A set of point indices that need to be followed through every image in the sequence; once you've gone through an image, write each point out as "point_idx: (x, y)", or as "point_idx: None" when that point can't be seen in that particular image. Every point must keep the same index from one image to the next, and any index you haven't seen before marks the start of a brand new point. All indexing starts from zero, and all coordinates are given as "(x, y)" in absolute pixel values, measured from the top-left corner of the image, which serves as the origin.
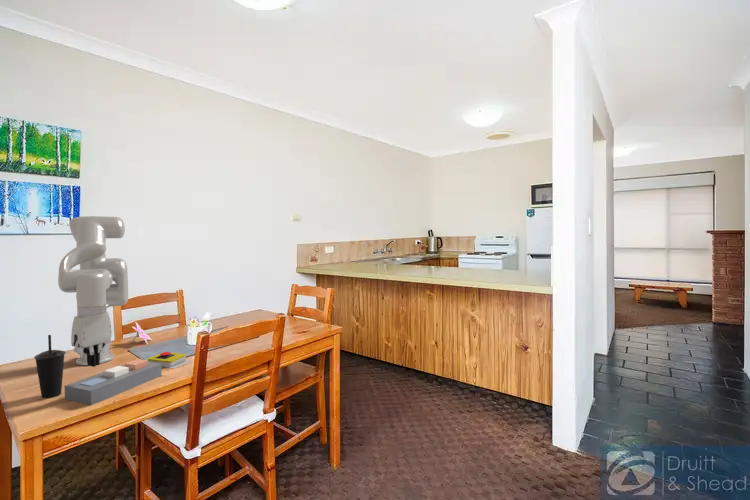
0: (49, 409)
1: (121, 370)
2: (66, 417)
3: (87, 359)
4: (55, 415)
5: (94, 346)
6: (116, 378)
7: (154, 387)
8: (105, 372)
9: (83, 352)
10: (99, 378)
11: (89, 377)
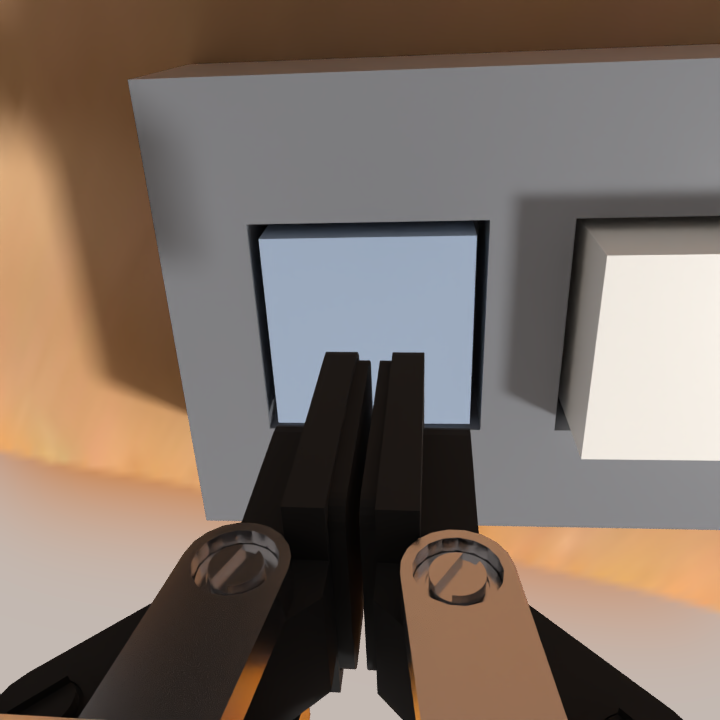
0: (10, 180)
1: (685, 456)
2: (43, 458)
3: (261, 487)
4: (4, 354)
5: (442, 714)
6: (548, 463)
7: (690, 588)
8: (597, 278)
9: (113, 628)
10: (470, 299)
11: (469, 93)
